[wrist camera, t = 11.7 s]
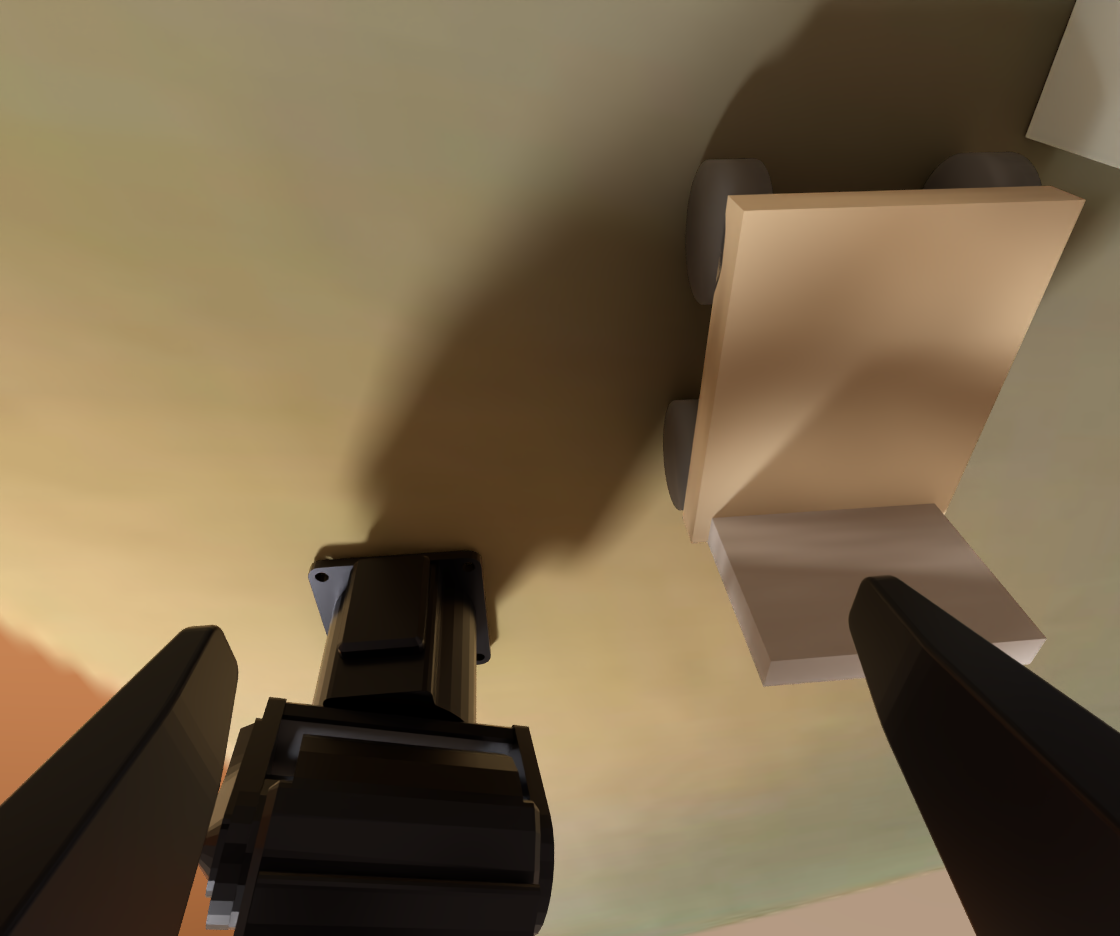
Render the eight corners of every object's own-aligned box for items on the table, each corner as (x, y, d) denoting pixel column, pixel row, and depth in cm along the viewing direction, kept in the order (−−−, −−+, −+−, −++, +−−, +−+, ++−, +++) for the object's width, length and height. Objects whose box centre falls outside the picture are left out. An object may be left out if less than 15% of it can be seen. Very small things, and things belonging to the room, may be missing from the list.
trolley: (870, 453, 25) (1041, 671, 18) (659, 466, 25) (741, 697, 17) (977, 138, 19) (1322, 266, 11) (694, 145, 18) (851, 284, 11)
